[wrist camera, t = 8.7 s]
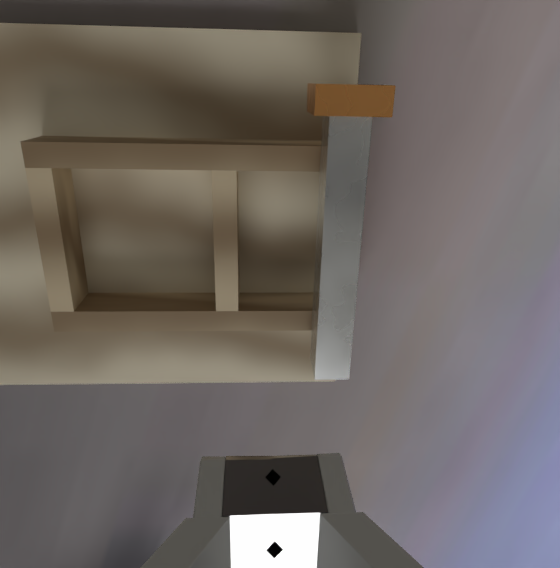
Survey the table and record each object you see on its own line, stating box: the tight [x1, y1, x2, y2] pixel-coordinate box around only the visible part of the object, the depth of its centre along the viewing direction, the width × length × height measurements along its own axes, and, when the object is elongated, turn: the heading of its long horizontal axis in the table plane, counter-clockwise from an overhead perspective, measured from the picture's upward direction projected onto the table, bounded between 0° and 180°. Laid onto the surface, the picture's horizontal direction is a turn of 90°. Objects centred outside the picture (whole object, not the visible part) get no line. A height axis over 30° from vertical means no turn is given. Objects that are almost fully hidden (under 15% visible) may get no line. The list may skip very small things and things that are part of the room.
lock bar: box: [307, 83, 395, 380], centre depth 24 cm, size 14×3×3 cm, turn 179°
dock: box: [0, 23, 361, 385], centre depth 26 cm, size 20×22×4 cm
